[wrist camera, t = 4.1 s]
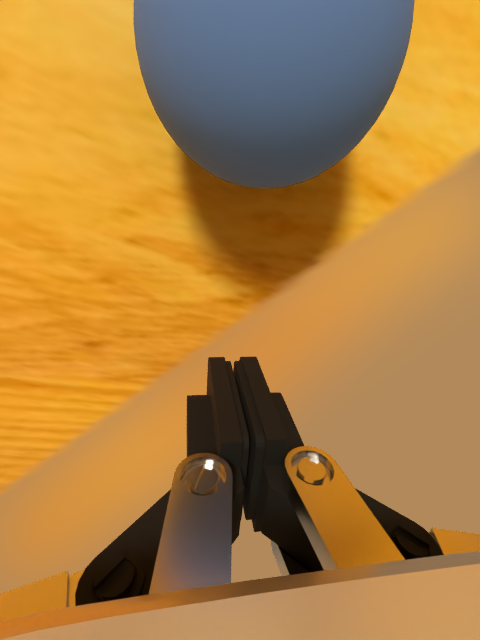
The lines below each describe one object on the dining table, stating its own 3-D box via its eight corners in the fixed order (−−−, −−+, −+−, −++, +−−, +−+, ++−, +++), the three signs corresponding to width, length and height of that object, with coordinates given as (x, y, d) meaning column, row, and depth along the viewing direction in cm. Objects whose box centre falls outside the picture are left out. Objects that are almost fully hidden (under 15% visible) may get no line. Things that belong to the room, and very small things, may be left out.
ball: (357, -31, 10) (576, -287, 4) (320, 189, 12) (428, 207, 7) (145, -72, 9) (72, -476, 3) (153, 176, 11) (119, 184, 6)
